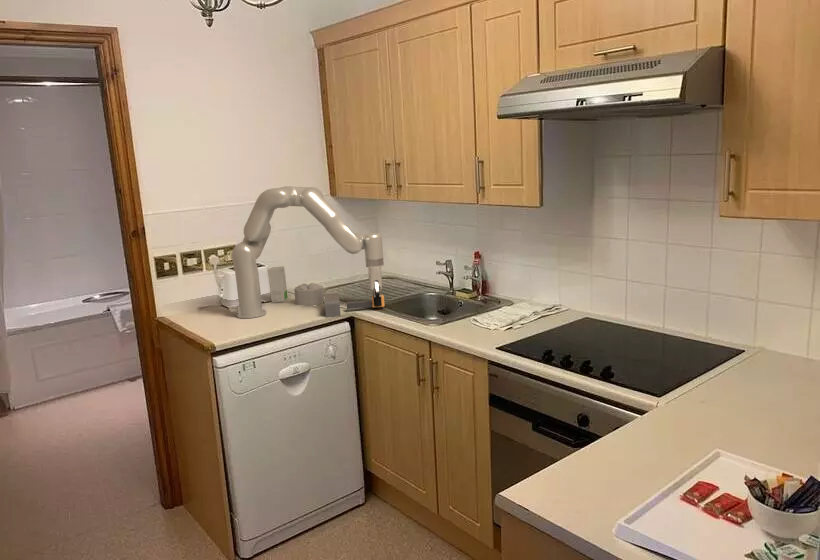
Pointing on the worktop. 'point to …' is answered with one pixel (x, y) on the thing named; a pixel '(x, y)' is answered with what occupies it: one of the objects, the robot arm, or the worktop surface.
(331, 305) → the block
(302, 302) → the lumpy-topped squat cylinder
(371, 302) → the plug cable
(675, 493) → the worktop surface
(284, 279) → the skincare box
